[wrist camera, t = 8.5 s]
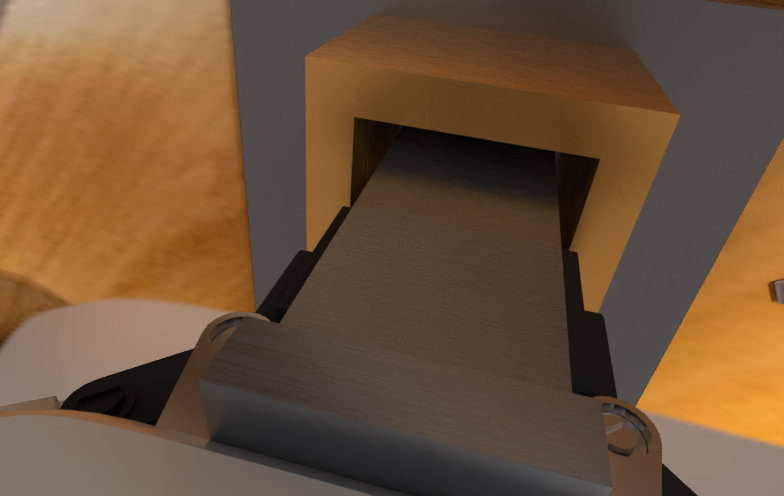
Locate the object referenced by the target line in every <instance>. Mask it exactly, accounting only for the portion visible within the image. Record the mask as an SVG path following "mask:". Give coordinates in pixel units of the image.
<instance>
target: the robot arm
mask: <svg viewBox="0 0 784 496" xmlns="http://www.w3.org/2000/svg"><path fill="white" fill-rule="evenodd" d="M351 209H352V207H347V206H343V207H342V208H341V209H340V211H339V212H338V214H337V215H336V217H335V218H334V220H333V221H332V223H331V224H330V226H329V227H328V229H327V230H326V232H325V233H324V235H323V236H322V238H321V240H320V241H319V243H318V244H317V246H316V247H315V249H314V250H313V252H310V251H306V250H300V251H299V252H298V253H297V254H296V255H295V257H294V258H293V260H292V261H291V262H290V264H289V265H288V267H287V268H286V270H285V271H284V272H283V274H282V275H281V277H280V278H279V279H278V281H277V282H276V284H275V285H274V287H273V288H272V289H271V291H270V292H269V294H268V295H267V296H266V298H265V299H264V301H263V302H262V304H261V305H260V306H259V308H258V309H257V311H256V312H255V313H252V312H235V313H230V314H226V315H223V316H221V317H219V318H217V319H215V320H214V321H213V322H211V323H210V324H208V325H207V327H206V328H205V330H204V331H203V332H202V334H201V336H200V338H199V340H198V342H197V344H196V346H195V348H194V349H191V350H188V351H184V352H181V353H178V354H175V355H172V356H169V357H166V358H163V359H159V360H156V361H153V362H150V363H147V364H143V365H141V366H137V367H134V368H131V369H128V370H125V371H122V372H118V373H115V374H112V375H109V376H106V377H103V378H100V379H97V380H94V381H92V382H90V383H87V384H85V385H83V386H82V387H80V388H79V389H77V390H76V391H74V392H73V393H72V394H71V395H70V396H69V397H68V398H67V399H66V400H65V401H59V402H58V400H57V397H56V396H53V397H48V398H43V399H37V400H32V401H27V402H22V403H16V404H11V405H6V406H1V407H0V496H411V495H407V494H404V493H400V492H397V491H393V490H389V489H386V488H382V487H379V486H375V485H371V484H368V483H364V482H361V481H357V480H353V479H350V478H346V477H343V476H339V475H335V474H332V473H328V472H325V471H321V470H317V469H314V468H310V467H306V466H303V465H299V464H295V463H292V462H288V461H284V460H281V459H277V458H273V457H270V456H266V455H262V454H259V453H255V452H251V451H248V450H244V449H240V448H237V447H233V446H229V445H226V444H222V443H218V442H215V441H211V440H210V437H209V432H208V427H207V421H206V416H205V411H204V405H203V400H202V395H201V389H200V384H199V379H200V377H201V376H202V375H203V373H204V372H205V371H206V369H207V368H208V366H209V365H210V364H211V362H212V361H213V360H214V358H215V357H216V355H217V354H218V353H219V351H220V350H221V348H222V347H223V346H224V344H225V343H226V342H227V340H228V339H229V337H230V336H231V335H232V333H233V332H234V331H235V329H236V328H237V326H238V325H239V324H240V322H241V321H242V319H243V318H244V317H245V315H246V316H250V317H254V318H258V319H263V320H267V321H271V322H275V323H280V322H281V320H282V318H283V317H284V315H285V314H286V312H287V310H288V309H289V307H290V306H291V304H292V303H293V301H294V299H295V298H296V296H297V295H298V293H299V291H300V290H301V288H302V287H303V285H304V283H305V282H306V280H307V279H308V277H309V275H310V274H311V272H312V271H313V269H314V267H315V266H316V264H317V263H318V261H319V260H320V258H321V256H322V255H323V253H324V252H325V250H326V248H327V247H328V245H329V244H330V242H331V240H332V239H333V237H334V236H335V234H336V232H337V231H338V229H339V228H340V226H341V224H342V223H343V221H344V220H345V218H346V216H347V215H348V213H349V212H350V210H351ZM562 261H563V275H564V289H565V303H566V316H567V330H568V344H569V358H570V371H571V385H572V393H574V394H578V395H582V396H587V397H591V398H595V399H599V400H602V408H603V415H604V423H605V430H606V438H607V446H608V453H609V461H610V468H611V476H612V483H613V489H612V491H611V492H610V494H609V496H697V495H696V494H695V493H694V492H693V491H692V490H691V489H690V488H689V487H687V486H686V485H685V484H684V483H683V482H682V481H681V480H680V479H679V478H678V477H677V476H676V475H674V474H673V473H672V472H671V471H670V470H669V469H668V468H667V467H666V466H665V465H664V464H662V443H661V438H660V434H659V432H658V430H657V429H656V427H655V425H654V423H652V421H651V420H650V419H649V418H648V417H647V416H646V415H645V414H644V413H643V412H642V411H640V410H639V409H637V408H636V407H635V406H633V405H631V404H629V403H627V402H625V401H623V400H621V399H618V398H617V392H616V386H615V380H614V374H613V368H612V362H611V356H610V350H609V344H608V337H607V331H606V325H605V320H604V316H603V315H602V314H600V313H596V312H591V311H586V310H584V301H583V293H582V285H581V276H580V268H579V259H578V253H577V252H574V251H569V250H564V249H562Z"/></svg>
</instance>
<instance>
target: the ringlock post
mask: <svg viewBox="0 0 784 496" xmlns="http://www.w3.org/2000/svg"><path fill="white" fill-rule="evenodd" d="M230 2H231V14H232V26H233V38H234V50H235V62H236V75H237V87H238V99H239V111H240V123H241V135H242V147H243V159H244V171H245V183H246V195H247V208H248V220H249V232H250V244H251V256H252V268H253V280H254V292H255V304H256V311H257V309H258V308H259V306H260V305H261V304H262V302H263V301H264V299H265V298H266V296H267V295H268V294H269V292H270V291H271V289H272V288H273V287H274V285H275V284H276V282H277V281H278V279H279V278H280V277H281V275H282V274H283V272H284V271H285V270H286V268H287V267H288V265H289V264H290V262H291V261H292V260H293V258H294V257H295V255H296V254H297V253H298V252H299V251H300V250H306V251H310V252H313V250H314V249H315V247H316V246H317V244H318V243H319V241H320V240H321V238H322V236H323V235H324V233H325V232H326V230H327V229H328V227H329V226H330V224H331V223H332V221H333V220H334V218H335V217H336V215H337V214H338V212H339V211H340V209H341V208H342V207H343V206H347V207H353V205H354V204H355V202H356V201H357V199H358V197H359V196H360V194H361V193H362V191H363V189H364V188H365V186H366V185H367V183H368V181H369V180H370V178H371V177H372V175H373V173H374V172H375V170H376V169H377V167H378V165H379V164H380V162H381V161H382V159H383V158H384V156H385V154H386V153H387V151H388V150H389V148H390V146H391V145H392V143H393V142H394V140H395V138H396V137H397V135H398V134H399V132H400V130H401V129H402V127H403V126H404V125H405V126H410V127H416V128H422V129H428V130H434V131H440V132H445V133H451V134H457V135H463V136H469V137H475V138H481V139H486V140H492V141H498V142H504V143H510V144H516V145H521V146H527V147H533V148H539V149H545V150H551V151H554V152H555V165H556V179H557V193H558V206H559V220H560V234H561V248H562V249H564V250H569V251H574V252H577V253H578V259H579V268H580V276H581V285H582V293H583V301H584V310H586V311H591V312H596V313H600V314H602V315H603V316H604V320H605V325H606V331H607V337H608V344H609V350H610V356H611V362H612V368H613V374H614V380H615V386H616V392H617V398H618V399H621V400H623V401H625V402H627V403H629V404H631V405H633V406H636V404H637V403H638V401H639V399H640V397H641V395H642V394H643V392H644V390H645V388H646V386H647V384H648V383H649V381H650V379H651V377H652V375H653V374H654V372H655V370H656V368H657V366H658V364H659V363H660V361H661V359H662V357H663V355H664V354H665V352H666V350H667V348H668V346H669V344H670V343H671V341H672V339H673V337H674V335H675V333H676V332H677V330H678V328H679V326H680V324H681V323H682V321H683V319H684V317H685V315H686V313H687V312H688V310H689V308H690V306H691V304H692V303H693V301H694V299H695V297H696V295H697V293H698V292H699V290H700V288H701V286H702V284H703V283H704V281H705V279H706V277H707V275H708V273H709V272H710V270H711V268H712V266H713V264H714V263H715V261H716V259H717V257H718V255H719V253H720V252H721V250H722V248H723V246H724V244H725V242H726V241H727V239H728V237H729V235H730V233H731V232H732V230H733V228H734V226H735V224H736V222H737V221H738V219H739V217H740V215H741V213H742V212H743V210H744V208H745V206H746V204H747V202H748V201H749V199H750V197H751V195H752V193H753V192H754V190H755V188H756V186H757V184H758V182H759V181H760V179H761V177H762V175H763V173H764V172H765V170H766V168H767V166H768V164H769V162H770V161H771V159H772V157H773V155H774V153H775V152H776V150H777V148H778V146H779V144H780V142H781V141H782V139H783V137H784V5H776V4H768V3H760V2H752V1H743V0H230Z"/></svg>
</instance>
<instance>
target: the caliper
mask: <svg viewBox="0 0 784 496" xmlns="http://www.w3.org/2000/svg"><path fill="white" fill-rule="evenodd" d="M774 287H775V292H776V297H777V302H778V303H779V304H784V280H777V281H775V282H774Z"/></svg>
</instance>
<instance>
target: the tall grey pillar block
mask: <svg viewBox="0 0 784 496" xmlns="http://www.w3.org/2000/svg"><path fill="white" fill-rule="evenodd" d="M199 384H200V389H201V395H202V400H203V405H204V411H205V416H206V421H207V427H208V432H209V437H210V440H211V441H215V442H218V443H222V444H226V445H229V446H233V447H237V448H240V449H244V450H248V451H251V452H255V453H259V454H262V455H266V456H270V457H273V458H277V459H281V460H284V461H288V462H292V463H295V464H299V465H303V466H306V467H310V468H314V469H317V470H321V471H325V472H328V473H332V474H335V475H339V476H343V477H346V478H350V479H353V480H357V481H361V482H364V483H368V484H371V485H375V486H379V487H382V488H386V489H389V490H393V491H397V492H400V493H404V494H407V495H411V496H609V494H610V492H611V491H612V489H613V483H612V476H611V468H610V461H609V453H608V446H607V438H606V430H605V423H604V415H603V408H602V400H599V399H595V398H591V397H587V396H582V395H578V394H574V393H572V385H571V371H570V358H569V344H568V330H567V316H566V303H565V289H564V275H563V261H562V248H561V234H560V220H559V206H558V193H557V179H556V165H555V152H554V151H551V150H545V149H539V148H533V147H527V146H521V145H516V144H510V143H504V142H498V141H492V140H486V139H481V138H475V137H469V136H463V135H457V134H451V133H445V132H440V131H434V130H428V129H422V128H416V127H410V126H405V125H404V126H403V127H402V129H401V130H400V132H399V134H398V135H397V137H396V138H395V140H394V142H393V143H392V145H391V146H390V148H389V150H388V151H387V153H386V154H385V156H384V158H383V159H382V161H381V162H380V164H379V165H378V167H377V169H376V170H375V172H374V173H373V175H372V177H371V178H370V180H369V181H368V183H367V185H366V186H365V188H364V189H363V191H362V193H361V194H360V196H359V197H358V199H357V201H356V202H355V204H354V205H353V207H352V209H351V210H350V212H349V213H348V215H347V216H346V218H345V220H344V221H343V223H342V224H341V226H340V228H339V229H338V231H337V232H336V234H335V236H334V237H333V239H332V240H331V242H330V244H329V245H328V247H327V248H326V250H325V252H324V253H323V255H322V256H321V258H320V260H319V261H318V263H317V264H316V266H315V267H314V269H313V271H312V272H311V274H310V275H309V277H308V279H307V280H306V282H305V283H304V285H303V287H302V288H301V290H300V291H299V293H298V295H297V296H296V298H295V299H294V301H293V303H292V304H291V306H290V307H289V309H288V310H287V312H286V314H285V315H284V317H283V318H282V320H281V322H280V323H275V322H271V321H267V320H263V319H258V318H254V317H250V316H246V315H245V317H244V318H243V319H242V321H241V322H240V324H239V325H238V326H237V328H236V329H235V331H234V332H233V333H232V335H231V336H230V337H229V339H228V340H227V342H226V343H225V344H224V346H223V347H222V348H221V350H220V351H219V353H218V354H217V355H216V357H215V358H214V360H213V361H212V362H211V364H210V365H209V366H208V368H207V369H206V371H205V372H204V373H203V375H202V376H201V377H200V379H199Z"/></svg>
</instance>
